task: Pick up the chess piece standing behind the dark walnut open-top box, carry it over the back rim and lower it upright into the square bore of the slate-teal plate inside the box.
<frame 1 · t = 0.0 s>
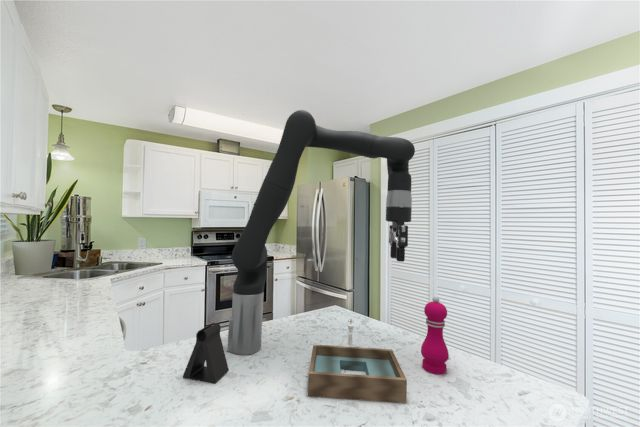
hand: (397, 259, 87), 29 cm above the countertop, fingers open, 8 cm apart
chess piece: (349, 351, 89), on the countertop
pepper mill: (434, 369, 80), on the countertop
phone stand: (206, 375, 72), on the countertop
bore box: (353, 380, 72), on the countertop
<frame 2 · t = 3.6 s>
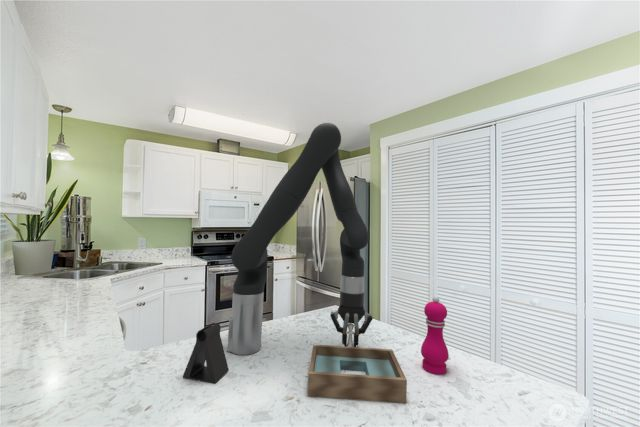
hand: (350, 345, 89), 2 cm above the countertop, fingers closed on chess piece, 2 cm apart
chess piece: (349, 351, 89), on the countertop, touching gripper
everything else where it was.
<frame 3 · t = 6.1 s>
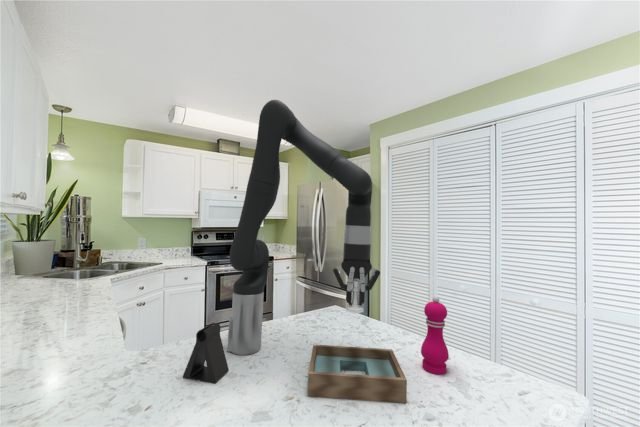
hand: (355, 304, 79), 17 cm above the countertop, fingers closed on chess piece, 2 cm apart
chess piece: (354, 311, 79), point 15 cm above the countertop, touching gripper
everything else where it was.
when the fingers open (3 cm above the countertop, at t = 8.7 s): chess piece drops 1 cm, resting in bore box.
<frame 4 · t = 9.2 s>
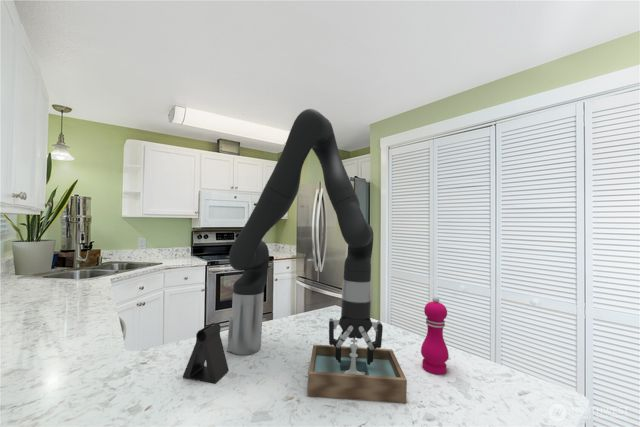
hand: (353, 362, 73), 4 cm above the countertop, fingers open, 7 cm apart
chess piece: (352, 378, 73), resting in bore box
everything else where it was.
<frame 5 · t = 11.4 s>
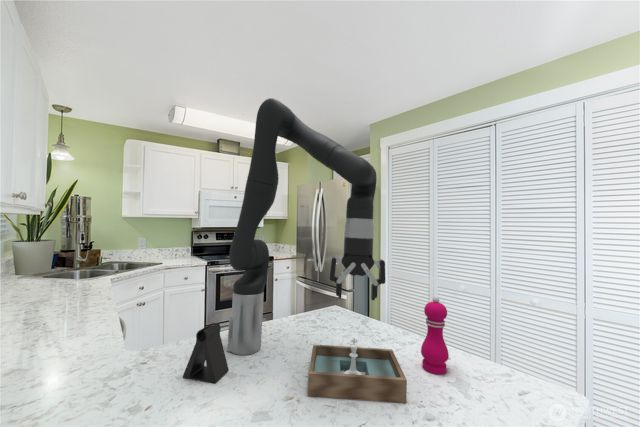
hand: (356, 298, 74), 20 cm above the countertop, fingers open, 8 cm apart
nothing on the countertop moved.
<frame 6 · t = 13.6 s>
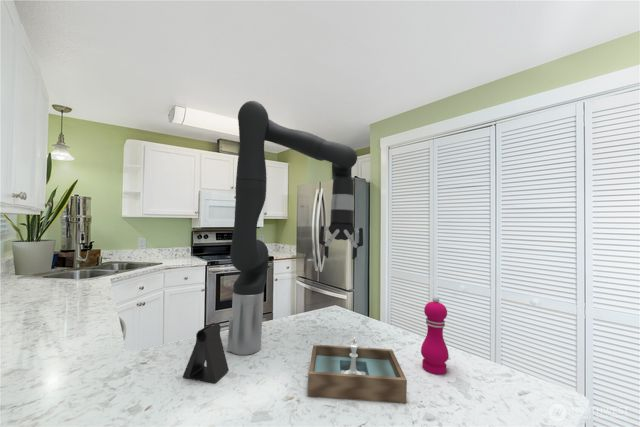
hand: (340, 258, 93), 28 cm above the countertop, fingers open, 8 cm apart
nothing on the countertop moved.
at the end: chess piece 0.2 cm from the target spot on the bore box, point 0.0 cm above the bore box's base; chess piece tilted 0°; the gripper is holding nothing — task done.
